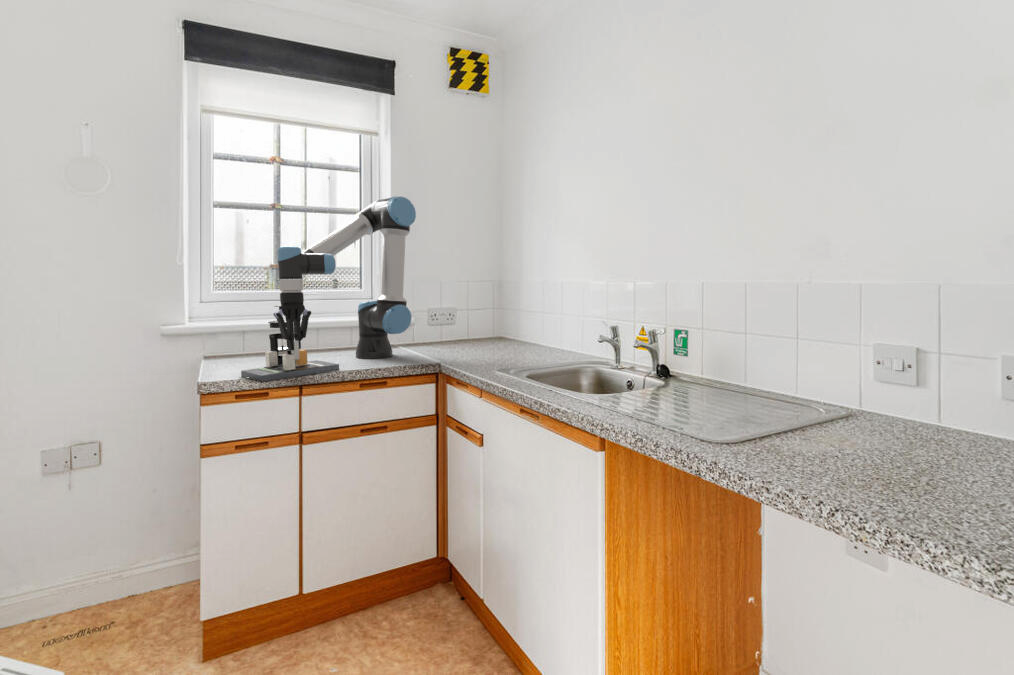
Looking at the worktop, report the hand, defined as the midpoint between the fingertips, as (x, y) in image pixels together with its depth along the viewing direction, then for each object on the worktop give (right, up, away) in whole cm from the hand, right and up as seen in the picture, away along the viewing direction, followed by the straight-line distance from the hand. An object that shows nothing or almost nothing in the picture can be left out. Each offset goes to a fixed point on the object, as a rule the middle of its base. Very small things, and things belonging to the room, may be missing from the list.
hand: (295, 358), depth 185 cm
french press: (-11, -3, +15) cm, 19 cm away
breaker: (+1, -2, +2) cm, 3 cm away
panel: (-1, -5, -1) cm, 5 cm away
